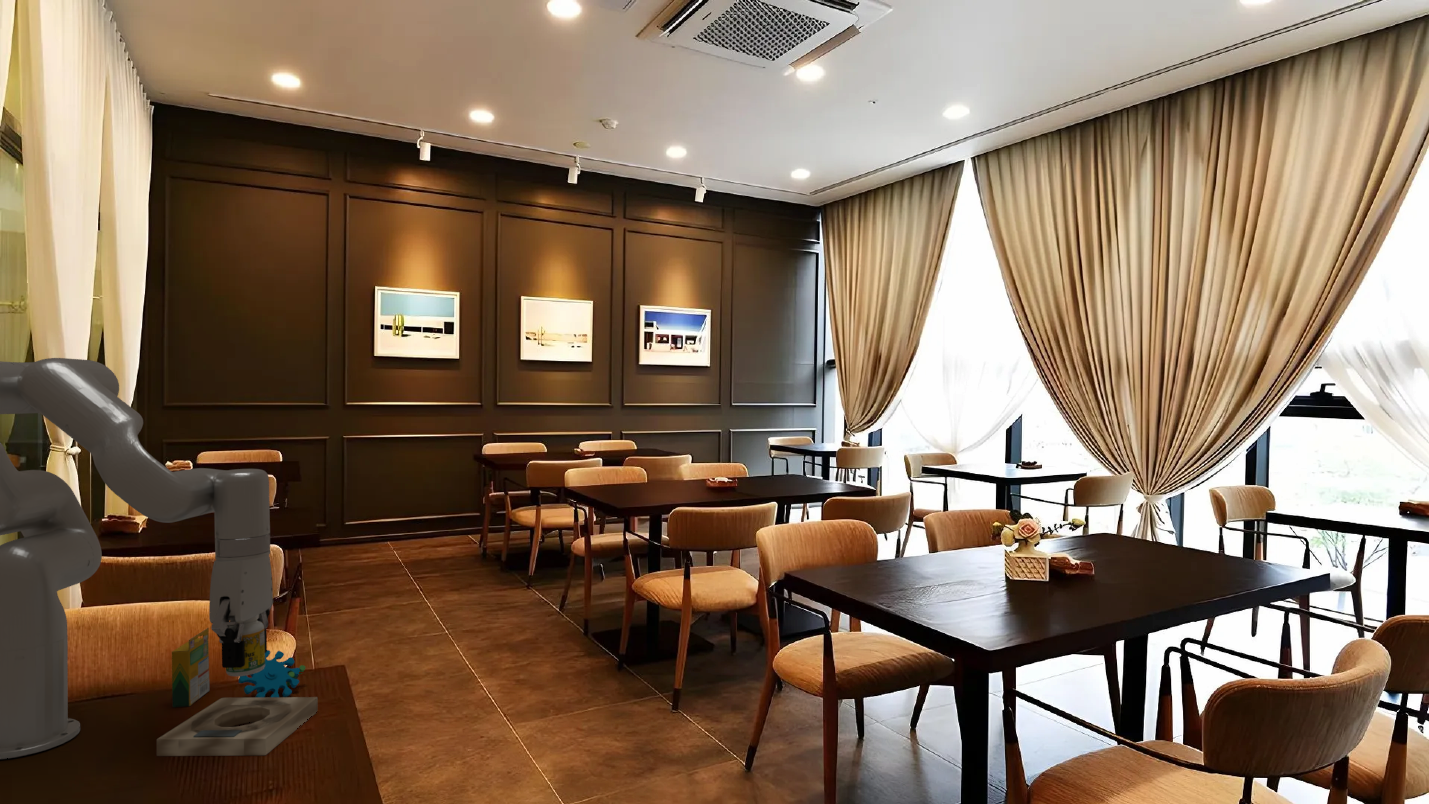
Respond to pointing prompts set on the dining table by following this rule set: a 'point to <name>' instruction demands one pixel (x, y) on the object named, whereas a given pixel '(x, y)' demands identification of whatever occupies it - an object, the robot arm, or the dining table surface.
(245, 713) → the socket board
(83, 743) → the dining table surface
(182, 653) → the crayon box
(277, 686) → the blue virus toy
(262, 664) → the supplement bottle
